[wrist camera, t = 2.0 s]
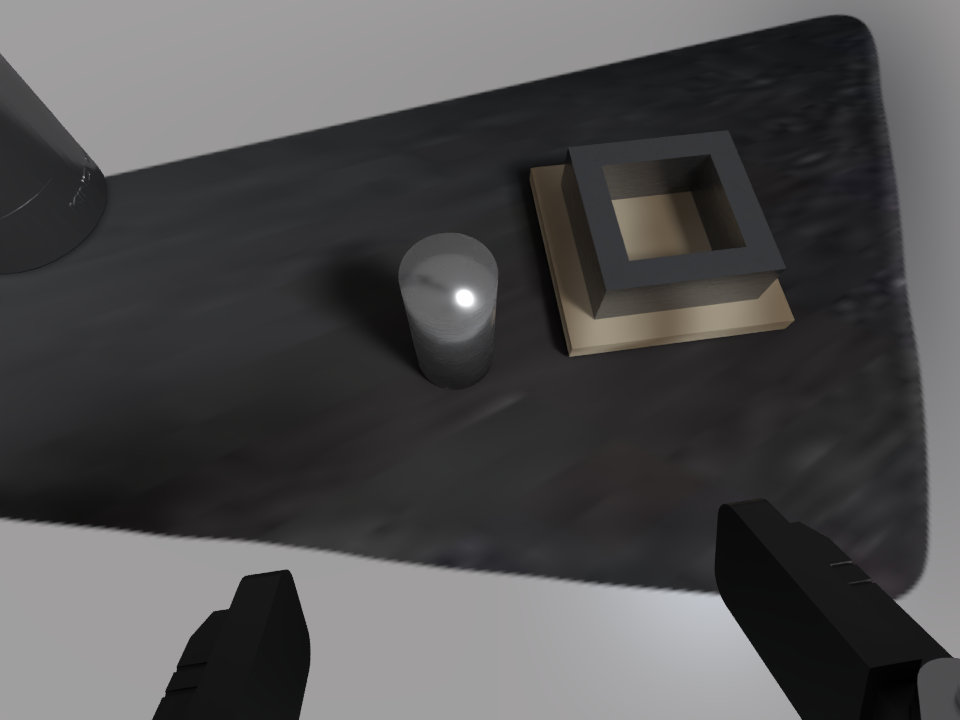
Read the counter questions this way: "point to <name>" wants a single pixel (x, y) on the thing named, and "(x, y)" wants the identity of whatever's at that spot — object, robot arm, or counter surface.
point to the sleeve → (656, 171)
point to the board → (646, 234)
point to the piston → (450, 307)
